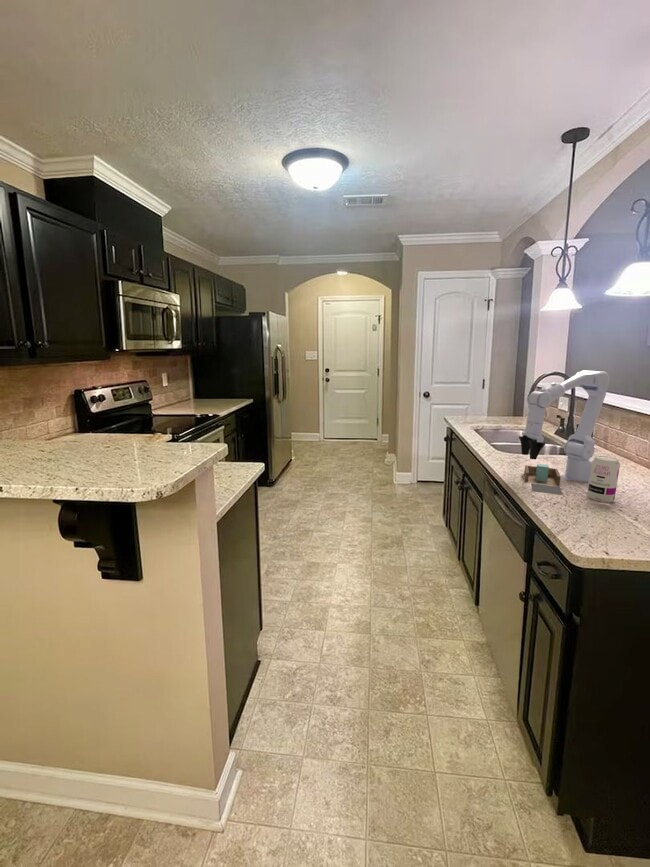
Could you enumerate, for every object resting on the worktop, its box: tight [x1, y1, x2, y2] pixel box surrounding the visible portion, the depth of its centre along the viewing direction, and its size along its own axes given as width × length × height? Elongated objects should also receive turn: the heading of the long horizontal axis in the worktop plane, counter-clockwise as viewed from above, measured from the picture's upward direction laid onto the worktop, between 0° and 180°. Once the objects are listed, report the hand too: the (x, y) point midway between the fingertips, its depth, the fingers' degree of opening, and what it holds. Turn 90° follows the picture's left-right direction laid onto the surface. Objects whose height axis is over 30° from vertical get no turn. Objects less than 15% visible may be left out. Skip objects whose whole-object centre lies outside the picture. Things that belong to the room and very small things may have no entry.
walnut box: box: [524, 465, 561, 487], centre depth 173 cm, size 12×12×4 cm
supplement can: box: [587, 455, 621, 503], centre depth 151 cm, size 8×8×15 cm
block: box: [535, 463, 550, 482], centre depth 172 cm, size 4×4×6 cm
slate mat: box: [531, 483, 564, 496], centre depth 161 cm, size 10×10×1 cm
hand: (528, 456), depth 168 cm, fingers open, 7 cm apart
